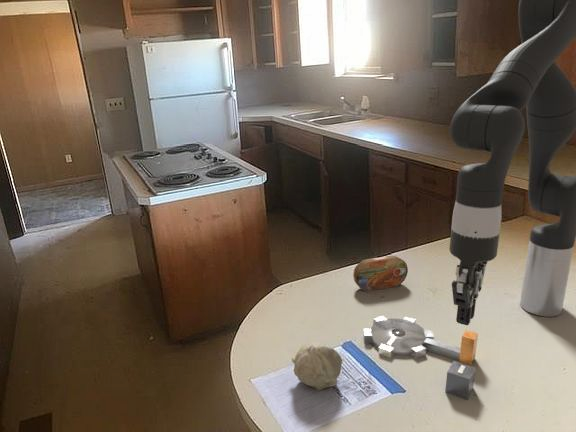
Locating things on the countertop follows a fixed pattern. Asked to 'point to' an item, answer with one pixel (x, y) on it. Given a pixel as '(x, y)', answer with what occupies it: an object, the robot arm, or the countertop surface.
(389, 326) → the sprocket
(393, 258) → the tin
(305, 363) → the garlic bulb
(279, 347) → the countertop surface
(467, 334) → the drive pin
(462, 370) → the grey cube with slot
